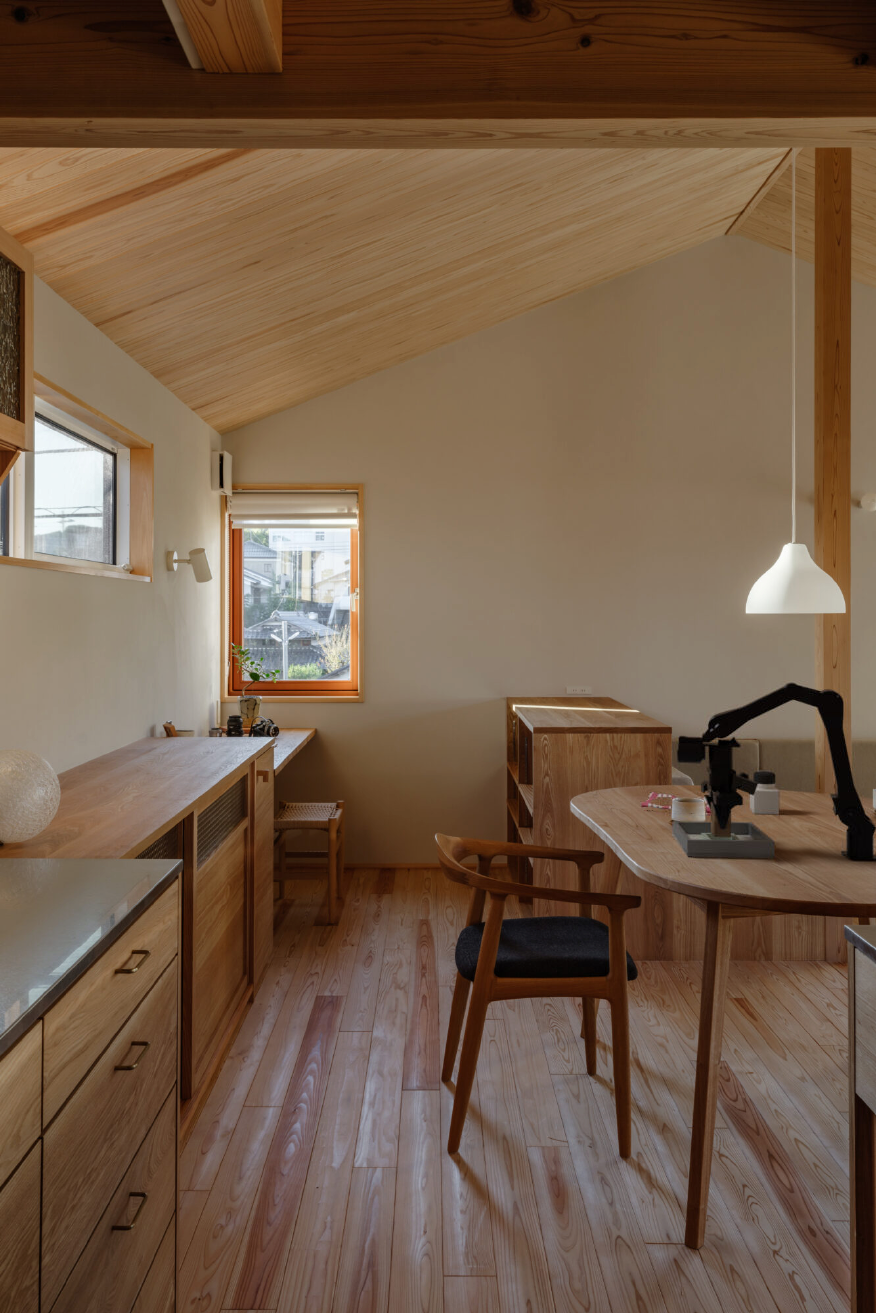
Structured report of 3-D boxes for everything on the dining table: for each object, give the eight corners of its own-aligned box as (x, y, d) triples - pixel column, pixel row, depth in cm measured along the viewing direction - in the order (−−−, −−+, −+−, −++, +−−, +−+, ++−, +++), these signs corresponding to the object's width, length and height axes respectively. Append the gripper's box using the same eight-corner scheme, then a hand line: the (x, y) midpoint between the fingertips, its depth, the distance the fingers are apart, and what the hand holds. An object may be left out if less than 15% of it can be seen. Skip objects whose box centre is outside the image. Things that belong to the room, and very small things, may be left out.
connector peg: (731, 837, 206) (731, 804, 206) (714, 836, 207) (714, 804, 206) (727, 833, 210) (727, 801, 210) (710, 833, 211) (710, 801, 210)
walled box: (774, 858, 197) (774, 841, 197) (687, 856, 200) (687, 840, 199) (751, 837, 217) (751, 822, 217) (672, 836, 219) (672, 821, 219)
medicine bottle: (779, 814, 244) (779, 773, 243) (753, 814, 245) (753, 773, 245) (774, 809, 251) (774, 769, 250) (749, 809, 252) (749, 769, 252)
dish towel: (649, 801, 268) (649, 790, 268) (726, 806, 258) (726, 795, 258) (640, 812, 252) (640, 800, 252) (721, 818, 243) (721, 806, 243)
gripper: (765, 770, 198) (765, 836, 198) (744, 758, 216) (744, 819, 217) (716, 770, 199) (716, 836, 199) (700, 758, 217) (700, 818, 218)
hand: (721, 827), depth 208 cm, fingers closed on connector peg, 4 cm apart
